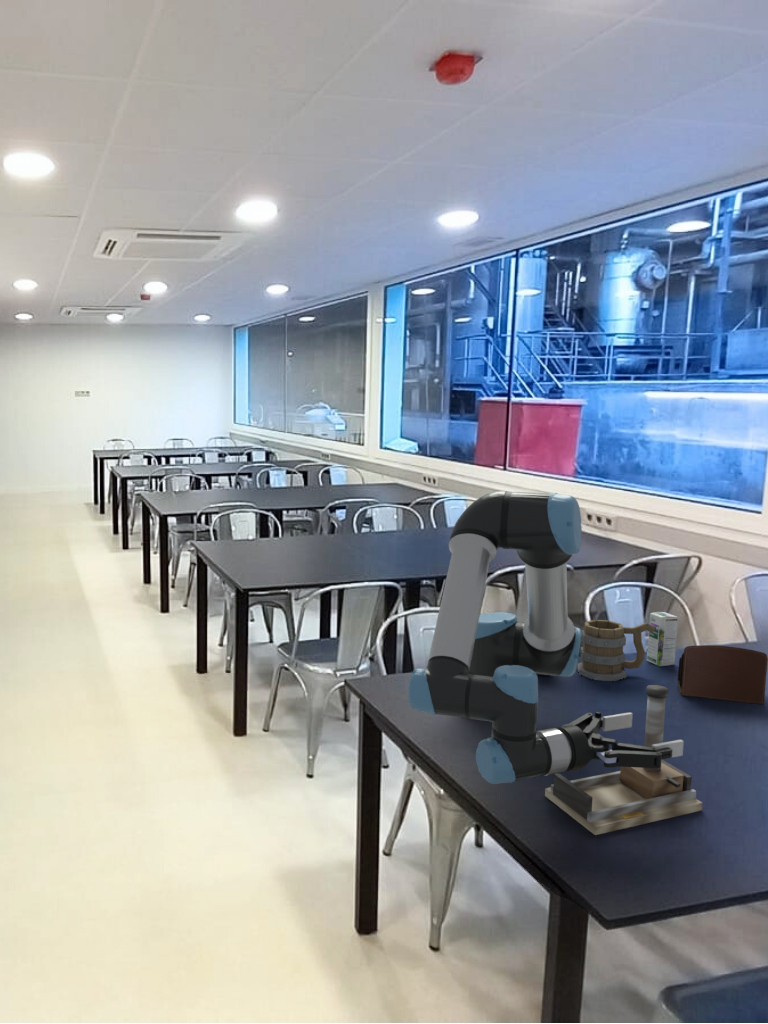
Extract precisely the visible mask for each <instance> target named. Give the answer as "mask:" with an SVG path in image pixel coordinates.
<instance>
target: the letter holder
mask: <svg viewBox="0 0 768 1024" xmlns="http://www.w3.org/2000/svg"><path fill="white" fill-rule="evenodd" d="M767 672H768V655H767V654H766V653H765V652H761V651H760V650H759V651H758V650H754V649H749V648H741V647H736V646H727V645H715V644H714V645H713V644H712V645H709V644H708V645H707V644H705V645H704V644H702V645H687V646H686V647H685V648H684V649H683V653H682V654H681V656H680V657H679V661H678V672H677V673H678V674H677V685H678V689H679V693H680V695H681V696H682V697H688V698H689V697H691V698H700V699H709V700H710V699H711V700H719V701H727V702H728V701H729V702H736V703H747V704H748V703H749V704H756V705H764V704H765V699H766V698H765V697H766V685H767V683H766V682H767Z"/></svg>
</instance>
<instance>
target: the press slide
mask: <svg viewBox="0 0 768 1024" xmlns="http://www.w3.org/2000/svg"><path fill="white" fill-rule="evenodd" d="M645 689H646V690H645V694H646V695H647V700H646V701H647V702H646V715H645V717H646V718H645V729H644V730H645V731H644V732H645V733H644V745H643V746H646V747H652V745H653V744H659V743H664V729H665V728H664V727H665V715H666V701H667V698H668V694H669V689H668V688H667V687H666V686H662V685H660V684H659V685H658V684H650V685H649V684H648V685H647V686H646V688H645ZM619 771H620V781H621V782H622V783H624V784H625V785H627V786H629V787H630V788H632V789H633V790H635V791H636V792H638V793H639V794H641V795H642V796H644V797H645V798H647V799H651V798H655V797H660V796H664V795H669V794H673V793H678V792H682V791H683V777H684V775H682V774H681V773H679V772H677V771H675V770H674V769H672V768H670V767H669V766H667V765H665V764H664V763H662V762H661V768H639V767H620V770H619Z"/></svg>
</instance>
